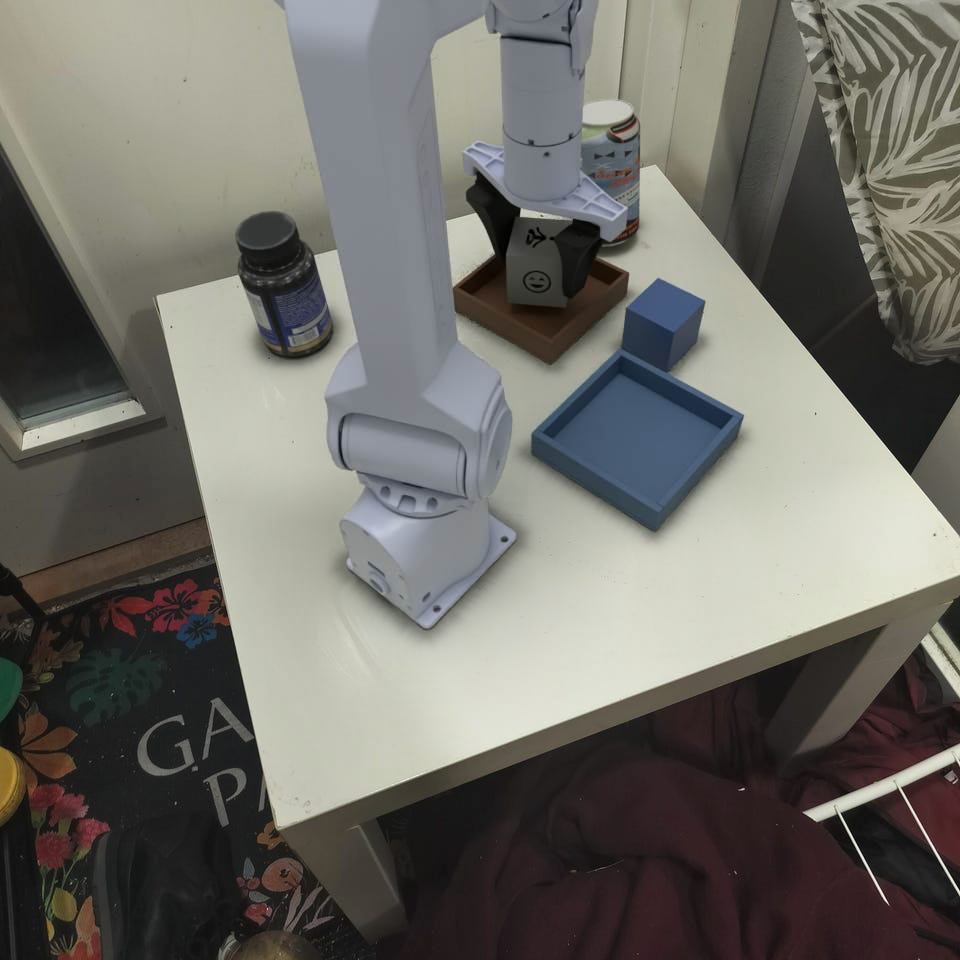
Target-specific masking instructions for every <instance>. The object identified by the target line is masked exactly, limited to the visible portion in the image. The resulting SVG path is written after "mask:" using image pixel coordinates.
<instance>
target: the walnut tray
mask: <svg viewBox="0 0 960 960" xmlns="http://www.w3.org/2000/svg"><path fill="white" fill-rule="evenodd" d="M629 279H630V272H629V271H627V270H625V269H623V268H621V267H619V266H617V265H614V264H613V263H611V262H609V261H606V260H604V259H602V258H600V257H598V256H596V258H595V260H594V262H593V264H592V267H591V269H590V272H589V274H588V277H587V280H586V283H585V287H584V288H583V289H582V290H581V291H579V292H578V293H577V294H576V295H575V296H574V297H573V298H572V299H569V298H568V301H567V307H566V308H562V307H551V306H539V305H527V304H516V303H507V272H506V262H505V263H503V264H502V263H500V262H499V261H497V258H496V256H495V253H493V254H492V255H491V256H490V257H488V259H486V260H485V261H483V262H482V263H481V264H480V265H479V266H477V267H476V268H475V269H473V271H471V272H469V273H468V274H467V275H466V276H465V277H463V279H461V280H459V282H457V283H456V284H455V285H454V286H452V287H453V297H454V307H455V312H457V313H458V314H461V315H462V316H464V317H466V318H467V319H469V320H471V321H473V322H474V323H476V324H478V325H480V326H481V327H483V328H485V329H487V330H488V331H490V332H492V333H493V334H495V335H497V336H499V337H501V338H502V339H504V340H506V341H508V342H510V343H511V344H513V345H514V346H516V347H518V348H520V349H521V350H523V351H525V352H527V353H528V354H530V355H532V356H534V357H536V358H537V359H539V360H541V361H543V362H544V363H546V364H548V365H549V366H552V365H553V364H554V363H555V362H556V361H557V360H559V358H560V357H562V356H563V355H564V354H565V353H566V352H567V351H568V350H569V349H570V348H571V347H572V346H573V345H574V344H576V342H578V341H579V340H580V339H581V338H582V337H583V336H585V334H586V333H587V332H589V330H591V329H592V328H593V327H594V326H595V325H596V324H597V323H598V322H600V320H601V319H603V318H604V317H605V316H606V315H607V314H608V313H610V311H611V310H612V309H613V308H615V307H616V306H617V305H618V304H619V303H620V302H621V301H622V300H623V299H624V298H625V297H626V296H627V295H628V288H629V281H630V280H629Z"/></svg>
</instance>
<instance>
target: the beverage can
mask: <svg viewBox="0 0 960 960" xmlns="http://www.w3.org/2000/svg"><path fill="white" fill-rule="evenodd" d="M633 106H634V105H632V104H631V103H629V102H628V101H625V100H623V99H618V98H601V99H594V100H591V101H588V102H585V103H583V122H582V140H581V158H582V167H581V168H580V170H581V171H582V172H583V173H584V174H585V175H586V176H588V177H589V178H590V179H591V180H592V181H593V182H594V183H595V184H596V185H598V186H599V187H600V188H601V189H602V190H603V191H604V192H605V193H606V194H607V195H609V196H610V197H611V198H612V199H613V200H615V201H616V202H618V203H620V204H622V205H624V206H626V207H628V213H627V222H626V229H625V230H624V231H623V232H622V233H621V234H620V235H619V236H617V237H616V238H615V239H614V240H612V241H611V242H609V241H607V240H606V241H605V242H604V244H603V245H602V247H601V248H606V247H607V248H608V247H614V246H618V245H621V244H622V243H625V242H626V241H628V240H629V239H631V238H632V237H633V236H634V235H635V234H636V233H637V232H638V230H639V228H640V199H641V198H640V194H641V193H640V189H641V187H640V186H641V122H640V120H639V118H638V116H637V115H636V114H635V112H634V107H633Z"/></svg>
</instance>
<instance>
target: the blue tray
mask: <svg viewBox="0 0 960 960" xmlns="http://www.w3.org/2000/svg"><path fill="white" fill-rule="evenodd" d="M744 417H745V414H744V413H742V412H741V411H738V410H736V409H735V408H732V406H731V407H730V406H729V405H727V404H724V403H723V402H721V401H719V400H718V399H715V398H714V397H713V396H710V395H708V394H706V393H704V392H703V391H701V390H699V389H698V388H696V387H694V386H691V385H689V384H688V383H686V382H684V381H682V380H680V379H678V378H677V377H674V376H673V375H671V374H670V373H668V372H665V371H663V370H661V369H659V368H657V367H655V366H654V365H652V364H650V363H648V362H646V361H644V360H642V359H640V358H639V357H637V356H635V355H633V354H631V353H629V352H627V351H626V350H624V349H622V348H621V347H619V348H618V349H617V350H616V351H615V352H614V353H613V354H611V356H610V357H609V358H608V359H606V360H605V361H604V363H602V364H601V366H599V367H598V368H597V369H596V370H595V371H594V372H593V373H591V375H590V376H589V377H588V378H587V379H586V380H585V381H584V382H583V383H582V384H580V385H579V386H578V388H576V389H575V391H573V392H572V393H571V395H569V396H568V397H567V398H566V399H565V400H564V401H563V402H562V403H561V404H560V405H559V406H558V407H557V408H556V409H554V410H553V412H552V413H551V414H549V415H548V416H547V417H546V418H545V420H543V421H542V422H541V423H540V424H539V425H538V426H537V427H536V428H535V429H534V430H533V431H532V432H531V434H530V451H531V452H530V454H531V455H532V456H534V457H535V458H537V459H538V460H540V461H541V462H543V463H544V464H546V465H548V466H550V467H551V468H552V469H554V470H555V471H558V472H559V473H561V474H562V475H563V476H565V477H567V478H569V479H570V480H571V481H573V482H575V483H576V484H578V485H579V486H581V487H582V488H584V489H586V490H587V491H589V492H591V493H593V494H594V495H595V496H597V497H598V498H600V499H602V500H603V501H605V502H606V503H608V504H609V505H611V506H613V507H614V508H616V509H617V510H619V511H620V512H622V513H623V514H625V515H626V516H629V517H630V518H632V519H633V520H635V521H636V522H638V523H639V524H641V525H643V526H644V527H646V528H647V529H649V530H650V531H652V532H654V533H655V532H656V531H657V530H658V529H659V528H660V527H661V526H662V525H663V523H664V522H665V521H666V520H667V519H668V518H669V517H670V515H671V514H672V513H673V512H674V511H675V510H676V508H677V507H678V506H679V505H680V504H681V503H682V502H683V500H684V499H685V498H686V497H687V496H688V494H689V493H690V492H691V491H692V490H693V489H694V487H695V486H696V485H697V484H698V483H699V482H700V481H701V480H702V478H703V477H704V476H705V475H706V474H707V473H708V471H709V470H710V469H711V468H712V467H713V466H714V464H715V463H716V462H717V461H718V460H719V458H721V456H722V455H723V454H724V453H725V452H726V450H728V448H729V447H730V446H731V445H732V443H733V442H734V441H735V440H736V439H737V438H738V437H739V433H740V430H741V427H742V425H743V421H744Z"/></svg>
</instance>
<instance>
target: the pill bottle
mask: <svg viewBox="0 0 960 960" xmlns="http://www.w3.org/2000/svg"><path fill="white" fill-rule="evenodd" d="M234 237H235V241H236V244H237V248H238V250H239V252H240V255H239V258H238V262H237V273H238V278H239V279H240V282H241V284H242V287H243V290H244V293H245V296H246V298H247V301H248V304H249V306H250V309H251V311H252V314H253V317H254V320H255V323H256V325H257V328H258V330H259V334H260V335H261V339H262V341H263V343H264V344H265V346H266V347H267V348H268V350H270V351H271V352H272V353H274V354H276V355H280V356H283V357H300V356H301V357H302V356H305V355H309V354H311V353H312V354H313V353H314V352H316V351H317V350H320V349H321V348H322V347H323V346H324V345H325V344H326V343H328V341H329V340H330V338H331V336H332V333H333V328H334V324H333V320H332V315H331V313H330V308H329V306H328V301H327V298H326V294H325V291H324V290H325V289H324V287H323V283H322V280H321V276H320V271H319V269H318V265H317V261H316V257H315V254H314V252H313V250H312V248H311V246H309V244H307V242H306V241H304V240H303V239H301V238H300V233H299V229H298V227H297V223H296V221H295V220H294V218H293V217H292V216H291V215H289V214H287V213H286V212H282V211H278V210H268V211H266V210H265V211H260V212H258V213H254V214H252V215H250V216H248V217H247V218H245V219H244V220H243V221H241V222H240V223H239V224H238V226H237V228H236V230H235V233H234Z"/></svg>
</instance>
